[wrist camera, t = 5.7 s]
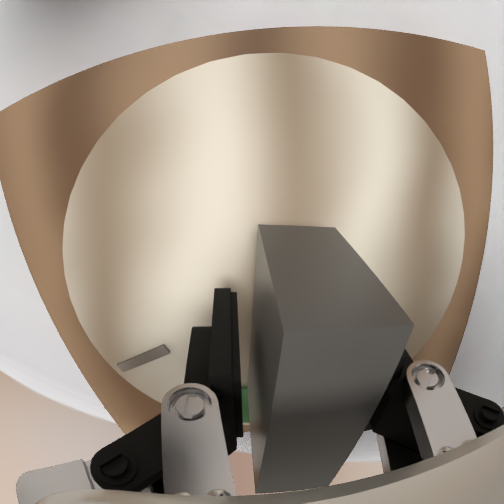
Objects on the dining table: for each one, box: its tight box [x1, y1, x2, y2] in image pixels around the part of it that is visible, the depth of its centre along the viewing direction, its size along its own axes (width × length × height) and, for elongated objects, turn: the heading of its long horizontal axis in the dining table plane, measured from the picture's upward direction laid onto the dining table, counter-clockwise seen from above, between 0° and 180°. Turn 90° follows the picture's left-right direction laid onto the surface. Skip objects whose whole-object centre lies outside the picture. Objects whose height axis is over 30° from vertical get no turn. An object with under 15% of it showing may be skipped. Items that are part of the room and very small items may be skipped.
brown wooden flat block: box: [0, 26, 493, 435], centre depth 14 cm, size 22×20×4 cm
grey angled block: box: [247, 224, 414, 493], centre depth 10 cm, size 12×2×6 cm, turn 177°
